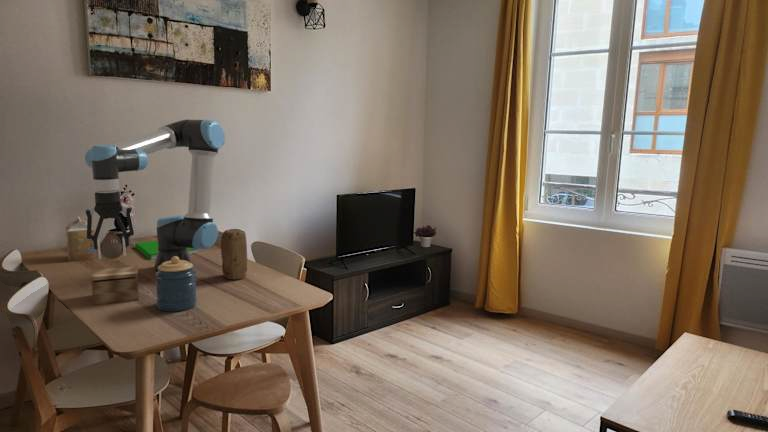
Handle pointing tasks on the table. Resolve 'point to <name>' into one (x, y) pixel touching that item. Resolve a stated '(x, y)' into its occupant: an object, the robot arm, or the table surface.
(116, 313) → the table surface
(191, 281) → the canister
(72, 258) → the tan lidded jar
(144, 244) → the book
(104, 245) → the vase
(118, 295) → the keepsake box
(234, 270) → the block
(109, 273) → the lid
